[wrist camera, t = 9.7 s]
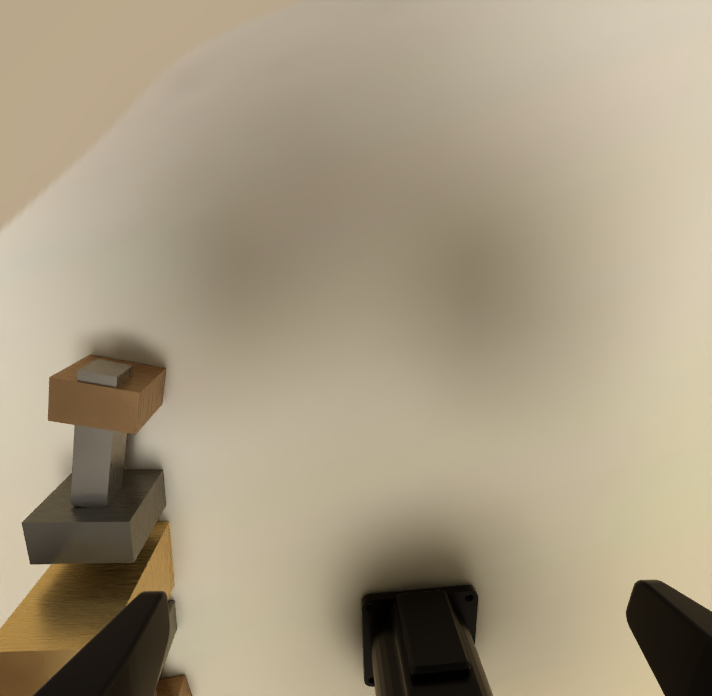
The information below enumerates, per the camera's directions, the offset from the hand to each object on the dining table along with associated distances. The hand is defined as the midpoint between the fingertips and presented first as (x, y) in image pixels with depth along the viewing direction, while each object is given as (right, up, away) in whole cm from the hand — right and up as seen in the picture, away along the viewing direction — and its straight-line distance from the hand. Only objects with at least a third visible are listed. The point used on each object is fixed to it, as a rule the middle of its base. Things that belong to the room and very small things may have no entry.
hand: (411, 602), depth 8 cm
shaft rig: (-13, -6, +13) cm, 19 cm away
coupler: (-13, -6, +13) cm, 19 cm away
